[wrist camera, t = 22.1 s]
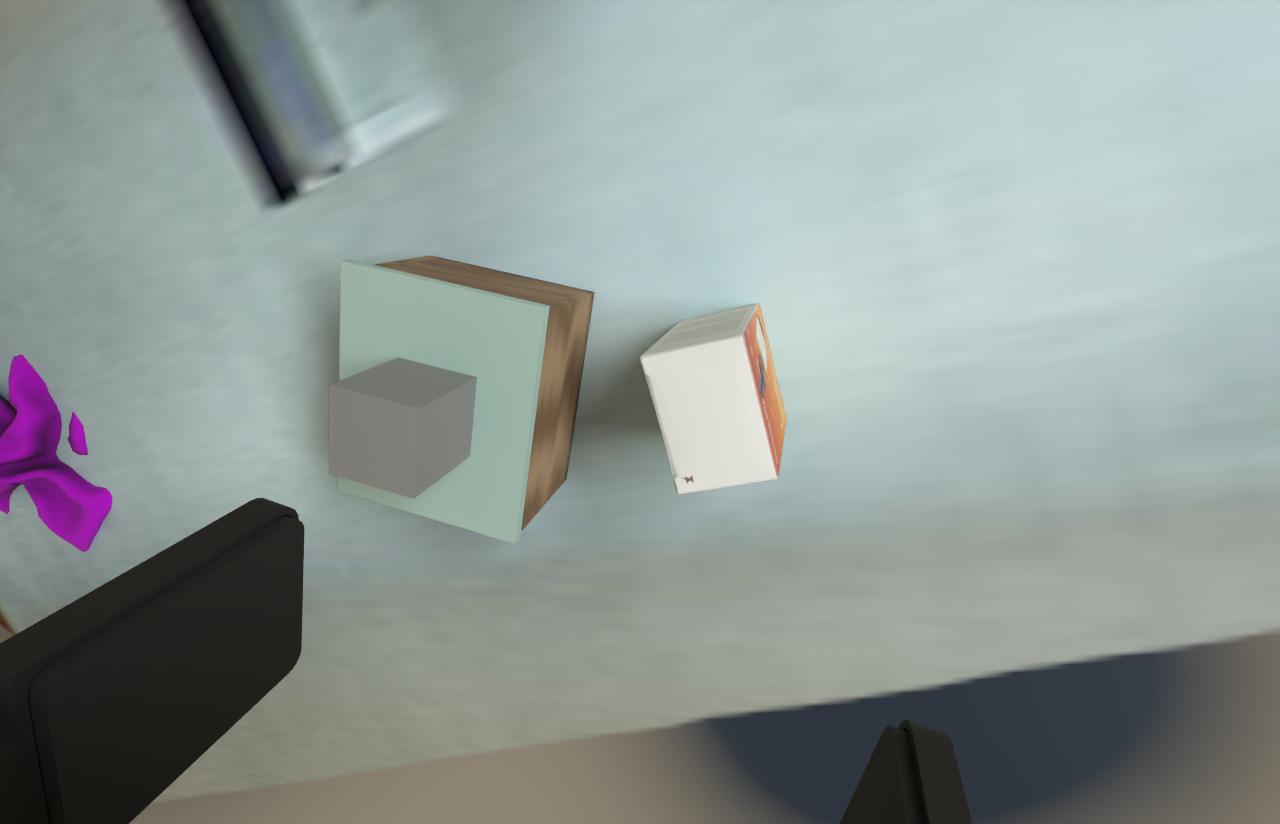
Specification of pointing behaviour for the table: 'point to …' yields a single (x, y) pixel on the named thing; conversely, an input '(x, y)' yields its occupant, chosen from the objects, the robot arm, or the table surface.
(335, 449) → the block
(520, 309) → the lid
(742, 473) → the small box
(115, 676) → the robot arm
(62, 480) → the cloth
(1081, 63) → the table surface
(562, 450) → the brown wooden open box
